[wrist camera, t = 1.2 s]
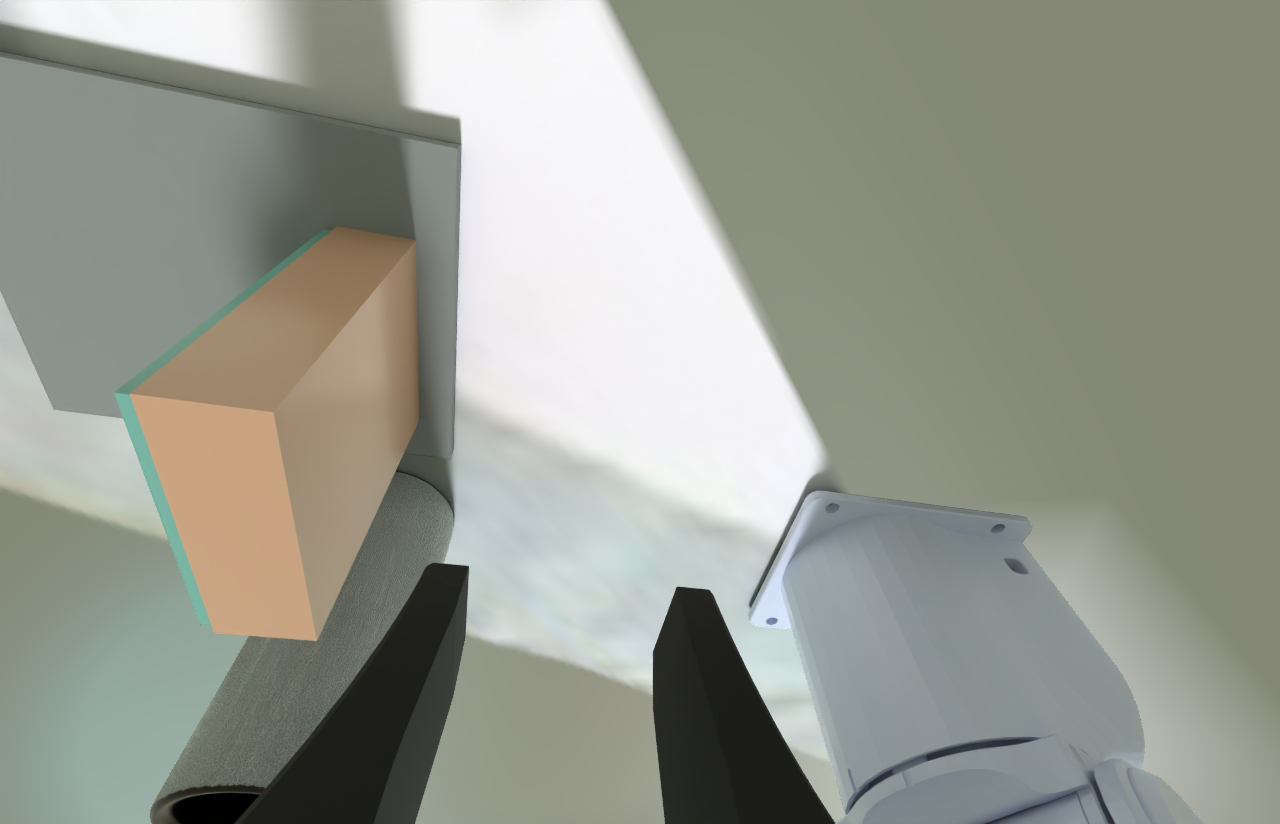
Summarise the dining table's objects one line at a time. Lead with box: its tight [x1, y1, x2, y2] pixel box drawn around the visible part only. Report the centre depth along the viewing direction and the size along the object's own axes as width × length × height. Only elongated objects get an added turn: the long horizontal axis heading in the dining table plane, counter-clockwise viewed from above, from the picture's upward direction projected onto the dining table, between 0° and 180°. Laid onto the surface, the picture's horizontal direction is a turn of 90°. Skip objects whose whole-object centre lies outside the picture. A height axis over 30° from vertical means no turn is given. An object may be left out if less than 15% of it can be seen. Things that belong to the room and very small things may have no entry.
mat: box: [0, 51, 461, 459], centre depth 16 cm, size 12×10×1 cm
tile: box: [114, 226, 419, 641], centre depth 14 cm, size 2×6×8 cm, turn 169°
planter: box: [150, 472, 454, 824], centre depth 18 cm, size 4×4×10 cm
